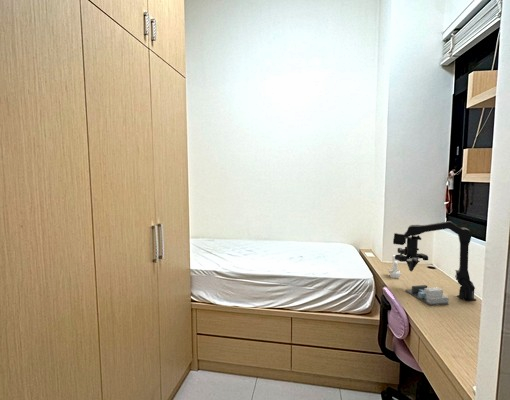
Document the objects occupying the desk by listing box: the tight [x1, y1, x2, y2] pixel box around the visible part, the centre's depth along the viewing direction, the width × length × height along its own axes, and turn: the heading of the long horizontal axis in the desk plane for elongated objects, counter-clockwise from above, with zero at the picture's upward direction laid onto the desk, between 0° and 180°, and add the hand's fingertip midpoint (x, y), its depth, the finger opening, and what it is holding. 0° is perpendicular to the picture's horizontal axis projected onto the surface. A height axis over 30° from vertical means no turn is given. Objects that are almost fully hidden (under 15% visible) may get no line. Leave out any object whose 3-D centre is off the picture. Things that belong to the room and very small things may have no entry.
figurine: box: [387, 254, 402, 279], centre depth 195 cm, size 7×9×15 cm
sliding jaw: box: [411, 284, 428, 298], centre depth 164 cm, size 11×9×4 cm
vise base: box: [405, 288, 450, 307], centre depth 163 cm, size 11×20×4 cm, turn 9°
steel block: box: [424, 286, 444, 300], centre depth 158 cm, size 8×4×6 cm, turn 100°
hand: (410, 271), depth 175 cm, fingers closed
